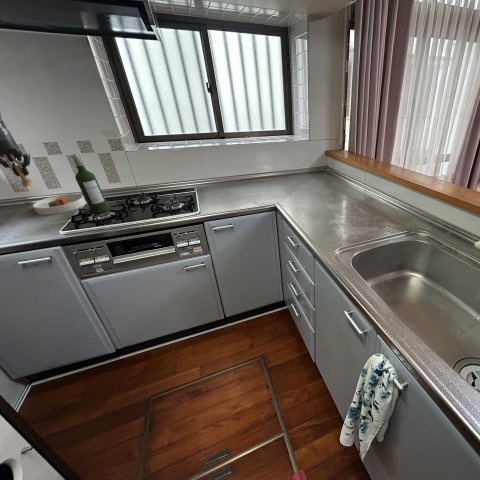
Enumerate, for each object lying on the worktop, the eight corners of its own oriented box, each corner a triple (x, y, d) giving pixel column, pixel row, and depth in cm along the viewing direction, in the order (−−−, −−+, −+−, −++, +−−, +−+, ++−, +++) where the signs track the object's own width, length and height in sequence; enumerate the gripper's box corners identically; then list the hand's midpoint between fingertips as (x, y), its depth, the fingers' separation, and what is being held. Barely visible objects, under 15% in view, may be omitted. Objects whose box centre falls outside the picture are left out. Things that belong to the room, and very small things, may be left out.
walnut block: (51, 209, 145) (47, 203, 143) (54, 207, 148) (51, 201, 146) (59, 208, 146) (55, 202, 144) (62, 206, 149) (59, 200, 147)
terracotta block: (57, 206, 149) (54, 200, 147) (61, 203, 152) (57, 198, 150) (65, 205, 150) (62, 199, 148) (68, 203, 153) (65, 197, 151)
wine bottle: (103, 206, 150) (78, 152, 134) (112, 208, 147) (88, 153, 132) (88, 212, 143) (60, 155, 128) (98, 214, 141) (71, 156, 126)
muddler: (21, 186, 132) (9, 166, 127) (26, 184, 136) (14, 164, 131) (31, 186, 133) (19, 166, 128) (35, 183, 137) (24, 164, 131)
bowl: (27, 218, 137) (22, 210, 135) (50, 203, 155) (46, 196, 153) (76, 213, 143) (72, 205, 140) (92, 199, 160) (89, 192, 158)
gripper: (25, 136, 128) (44, 172, 137) (-11, 138, 125) (10, 174, 133) (14, 139, 122) (35, 176, 130) (-24, 141, 118) (0, 179, 127)
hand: (22, 175), depth 132 cm, fingers closed on muddler, 2 cm apart
